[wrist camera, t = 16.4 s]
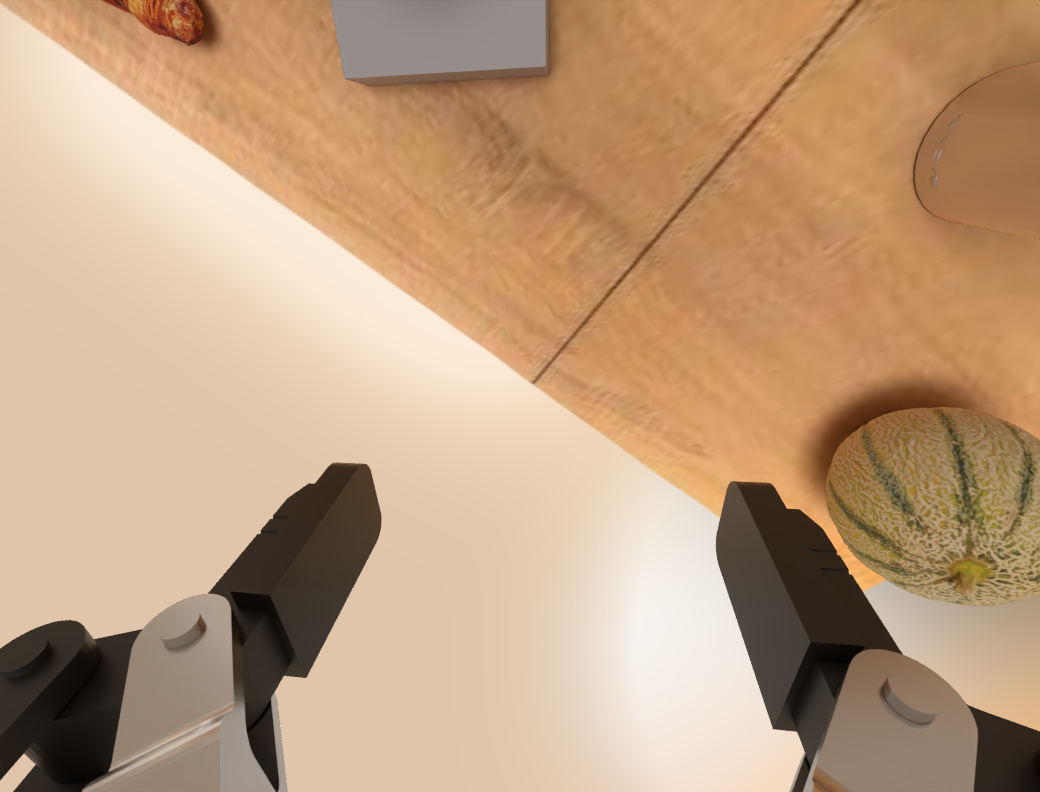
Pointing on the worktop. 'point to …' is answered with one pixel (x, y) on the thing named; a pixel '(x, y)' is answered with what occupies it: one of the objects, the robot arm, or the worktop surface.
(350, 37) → the base block
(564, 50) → the worktop surface
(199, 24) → the croissant
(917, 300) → the worktop surface
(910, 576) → the cantaloupe
